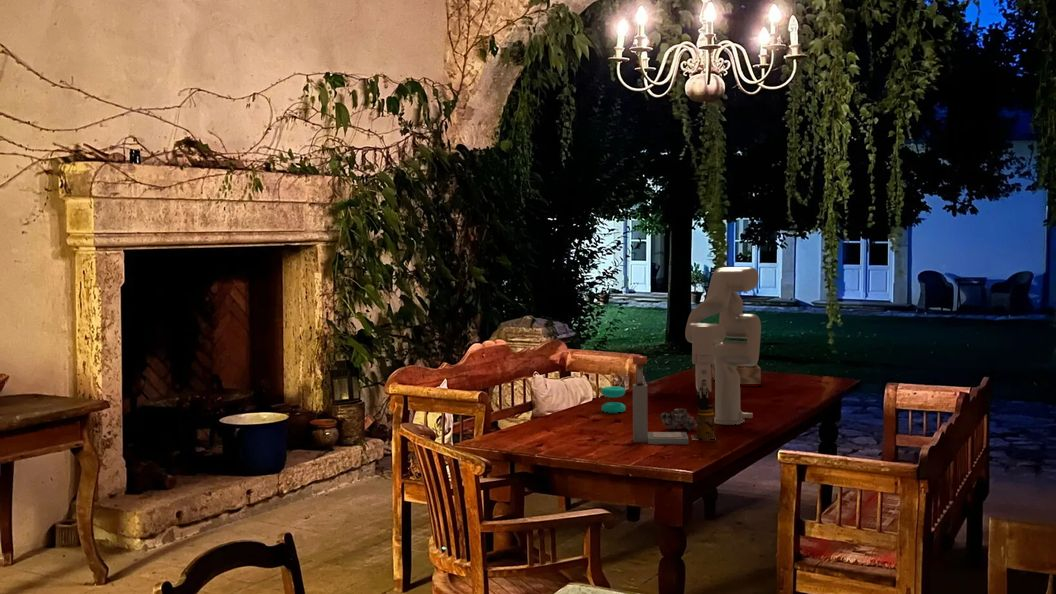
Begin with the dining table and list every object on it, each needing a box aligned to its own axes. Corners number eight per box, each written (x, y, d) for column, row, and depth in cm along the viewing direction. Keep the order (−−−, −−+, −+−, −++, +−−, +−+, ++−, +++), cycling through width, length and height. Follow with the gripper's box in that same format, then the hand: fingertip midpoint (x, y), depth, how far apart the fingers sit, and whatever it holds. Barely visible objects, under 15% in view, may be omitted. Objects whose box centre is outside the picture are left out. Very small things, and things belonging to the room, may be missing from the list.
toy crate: (752, 378, 522) (752, 360, 521) (760, 387, 493) (760, 368, 492) (711, 378, 523) (711, 360, 523) (717, 387, 495) (717, 368, 494)
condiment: (716, 440, 371) (715, 406, 370) (691, 440, 372) (691, 406, 371) (714, 436, 378) (714, 403, 378) (690, 436, 379) (690, 403, 378)
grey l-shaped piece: (686, 437, 377) (685, 382, 375) (688, 444, 365) (688, 387, 363) (633, 437, 378) (632, 382, 377) (633, 444, 366) (633, 387, 365)
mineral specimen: (655, 420, 391) (671, 398, 391) (665, 424, 399) (680, 403, 398) (680, 439, 384) (696, 416, 384) (689, 443, 392) (704, 421, 392)
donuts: (627, 386, 435) (623, 389, 426) (627, 409, 436) (623, 414, 426) (603, 385, 438) (599, 389, 428) (603, 409, 438) (599, 413, 429)
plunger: (646, 391, 373) (646, 355, 372) (647, 394, 368) (647, 357, 367) (632, 391, 374) (632, 355, 373) (633, 394, 369) (632, 357, 368)
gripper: (715, 362, 364) (715, 411, 365) (711, 357, 381) (711, 404, 382) (694, 361, 365) (693, 410, 365) (690, 357, 382) (690, 404, 383)
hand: (702, 407), depth 374 cm, fingers open, 9 cm apart
